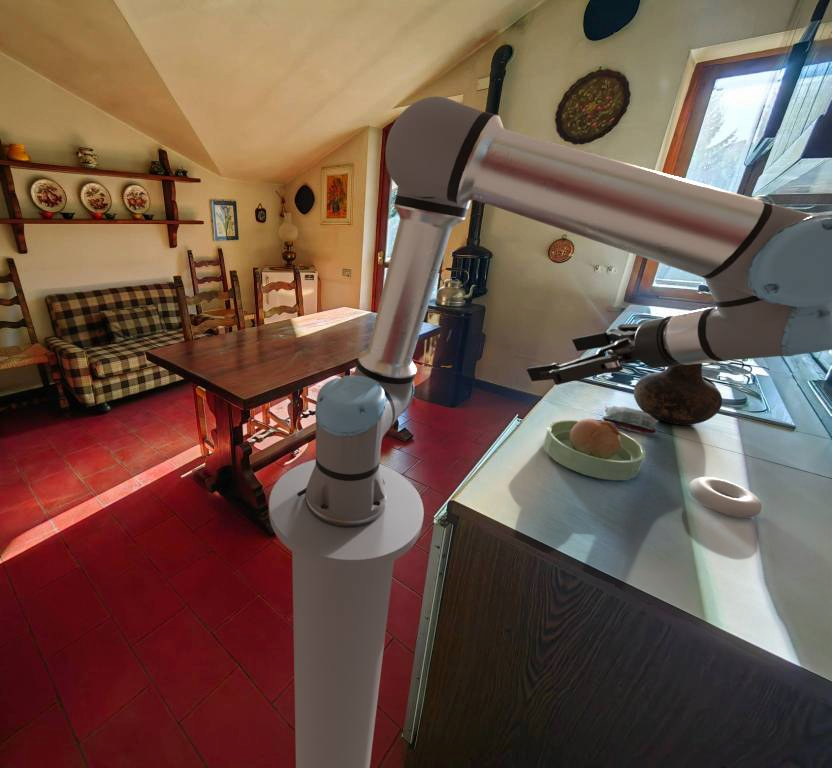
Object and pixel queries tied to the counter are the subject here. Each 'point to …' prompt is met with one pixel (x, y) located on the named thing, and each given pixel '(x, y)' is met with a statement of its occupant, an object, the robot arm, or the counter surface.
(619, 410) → the packaged food
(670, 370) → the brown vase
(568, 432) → the bowl
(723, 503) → the donut
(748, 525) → the counter surface
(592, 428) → the onion
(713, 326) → the robot arm
